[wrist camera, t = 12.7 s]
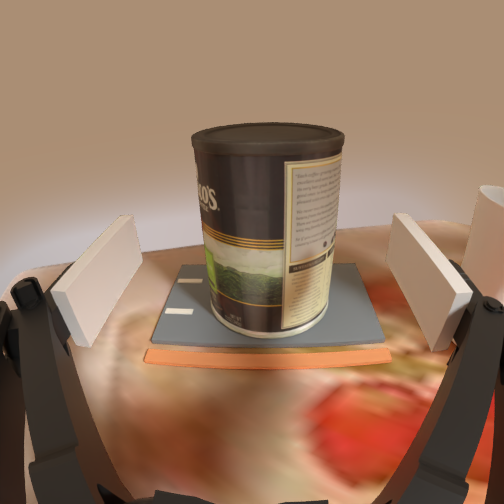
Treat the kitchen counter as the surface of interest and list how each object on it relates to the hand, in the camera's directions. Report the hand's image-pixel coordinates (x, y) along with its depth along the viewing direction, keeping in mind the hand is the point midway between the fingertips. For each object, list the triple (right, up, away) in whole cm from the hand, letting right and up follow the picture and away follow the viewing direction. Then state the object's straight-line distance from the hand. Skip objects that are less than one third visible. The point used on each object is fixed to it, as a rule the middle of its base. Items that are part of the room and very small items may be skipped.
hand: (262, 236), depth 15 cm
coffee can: (+1, -5, +12) cm, 13 cm away
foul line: (+1, -9, +6) cm, 10 cm away
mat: (+1, -5, +12) cm, 13 cm away
